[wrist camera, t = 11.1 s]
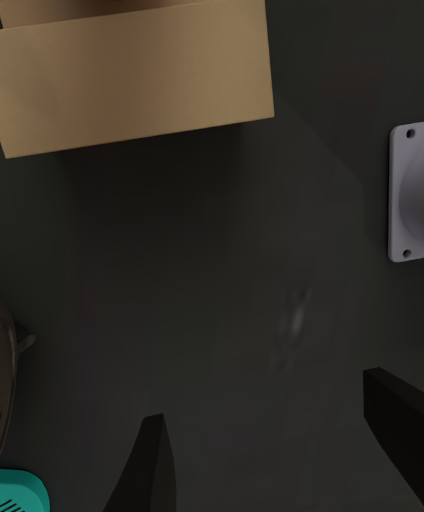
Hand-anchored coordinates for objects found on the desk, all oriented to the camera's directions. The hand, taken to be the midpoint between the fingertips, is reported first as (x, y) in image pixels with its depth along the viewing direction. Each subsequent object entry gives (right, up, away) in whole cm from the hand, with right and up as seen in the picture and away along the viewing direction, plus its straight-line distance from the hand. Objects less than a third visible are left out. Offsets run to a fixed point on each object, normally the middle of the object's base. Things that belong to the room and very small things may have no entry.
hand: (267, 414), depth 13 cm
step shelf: (-6, +17, +4) cm, 19 cm away
